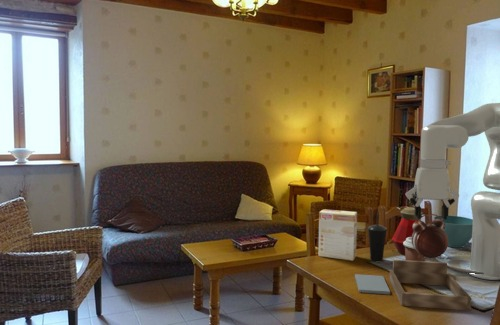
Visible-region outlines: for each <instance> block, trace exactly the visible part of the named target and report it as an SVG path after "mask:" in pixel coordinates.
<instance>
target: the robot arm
mask: <svg viewBox="0 0 500 325" xmlns="http://www.w3.org/2000/svg"><path fill="white" fill-rule="evenodd" d="M420 131H421V132H420V135H421V136H420V161H419V164H420V165H419V167H417V169H416V173H415V177H414V186H413V187H412V188H411V189H410V190H408V191H406V192H405V196H406V198H407V199H408V200H409V201H410V202H411V203H412V205H413V206H414V208H415V216H416V217H417V218H418V219H421V220H422V218H421V211H422V207H421V204H422V202H423V201H424V200H426V201H427V200H429V201H431V200H433V201H435V200H437V201H441V202H442V205H441V214H440V216H441V217H442V218H443V219H445V220H446V219H447V216H448V215H449V210H450V209H449V208H450V207H451V206H452V205H453V204H454V203H455V201H457V199H458V198H459V197H460V194H459V193H458V192H456V191H455V190H453V189H452V188H451V184H450V182H451V181H450V175H449V170H448V168H447V167H448V166H451V164H452V162H451V161H450V160H448V159H447V149H460V148H462V147H464V146H465V145H466V144H467V143H468V142H469V138H470V137H471V138H472V137H476V136H479V135H480V134H482V133H484V135H485V137H486V140H487V143H488V146H489V150H490V151H489V156H488V160H487V163H486V167H485V170H484V173H483V178H482V183H483V184H482V185H483V186H484V187H486V188H487V189H490V190H495V192H494V191H487V190H482V191H478V192H475V193H474V194H473V195H472V197H471V200H470V208H471V214H472V219H473V229H472V238H471V248H470V249H471V250H470V263H469V265H468V266H466V267H469V266H470V269H471V270H474V271H479V272H483V273H484V274H475V273H469V274H468V275H470V276H472V277H475V278H478V279H482V280H487V281H488V280H489V281H499V280H500V222H499V220H500V192H496V191H500V102H495V103H494V102H492V103H485V104H482V105H481V106H479V107H477V108H474V109H472V110H470V111H468V112H466V113H462V114H457V115H455V116H449V117H445V118H442V119H439V120H436V121H434V122H432V123H430V124H428V125H426V126H425V127H422V128H421V130H420ZM450 194H451V195H452V196H451V195H450ZM412 195H414V196H415V197H416V198H415V199H414V197H413V196H412Z"/></svg>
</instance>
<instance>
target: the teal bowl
mask: <svg viewBox="0 0 500 325" xmlns="http://www.w3.org/2000/svg"><path fill="white" fill-rule="evenodd" d="M438 217H439V218H440V219H441V218H442V217H441V215H438ZM435 219H438V218H437V216H433V220H435ZM442 219H443V218H442ZM442 221H444V223H445V225H446V226H445V230H443V229H442V230H443V231H444V232H445V233H446V234H447V236H448V247H450V248H455V249H456V248H458V249H459V248H463V247H464V246H466V245H467V244H468V243H469V242H470V241H472V229H473V218H471V217H470V218H469V217H465V216H460V215H459V216H458V215H449V214H448V216H447V219H446V220H445V219H443V220H442Z"/></svg>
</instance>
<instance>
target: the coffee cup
mask: <svg viewBox="0 0 500 325" xmlns="http://www.w3.org/2000/svg"><path fill="white" fill-rule="evenodd" d="M403 245H404V246H405V255H404V257H405V259H404V260H409V261H425V260H426V257H425V258H424V260H423V259H422V258H423V255H420V256H419V253H418V252H417V251H416V250H415V248H414V247H413V245H412V237H408V238H406V240H405V241H404V242H403ZM418 256H419V258H418Z"/></svg>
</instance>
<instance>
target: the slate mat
mask: <svg viewBox="0 0 500 325" xmlns="http://www.w3.org/2000/svg"><path fill="white" fill-rule="evenodd" d="M354 280H355V282H356V286H357V290H358V293H361V292H362V293H363V294H365V293H366V294H376V295H377V294H379V295H380V294H381V295H391V290H390V288H389V286H388V284H387V282H386V280H385V277H384V276H383V275H373V274H359V273H358V274H357V273H355V274H354ZM362 293H361V294H362Z"/></svg>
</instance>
